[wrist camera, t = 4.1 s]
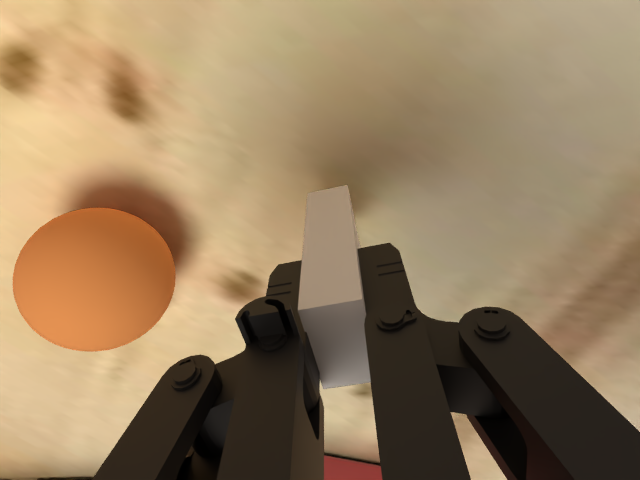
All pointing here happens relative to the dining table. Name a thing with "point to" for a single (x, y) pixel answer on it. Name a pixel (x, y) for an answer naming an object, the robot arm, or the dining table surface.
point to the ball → (94, 279)
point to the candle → (71, 479)
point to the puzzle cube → (350, 469)
